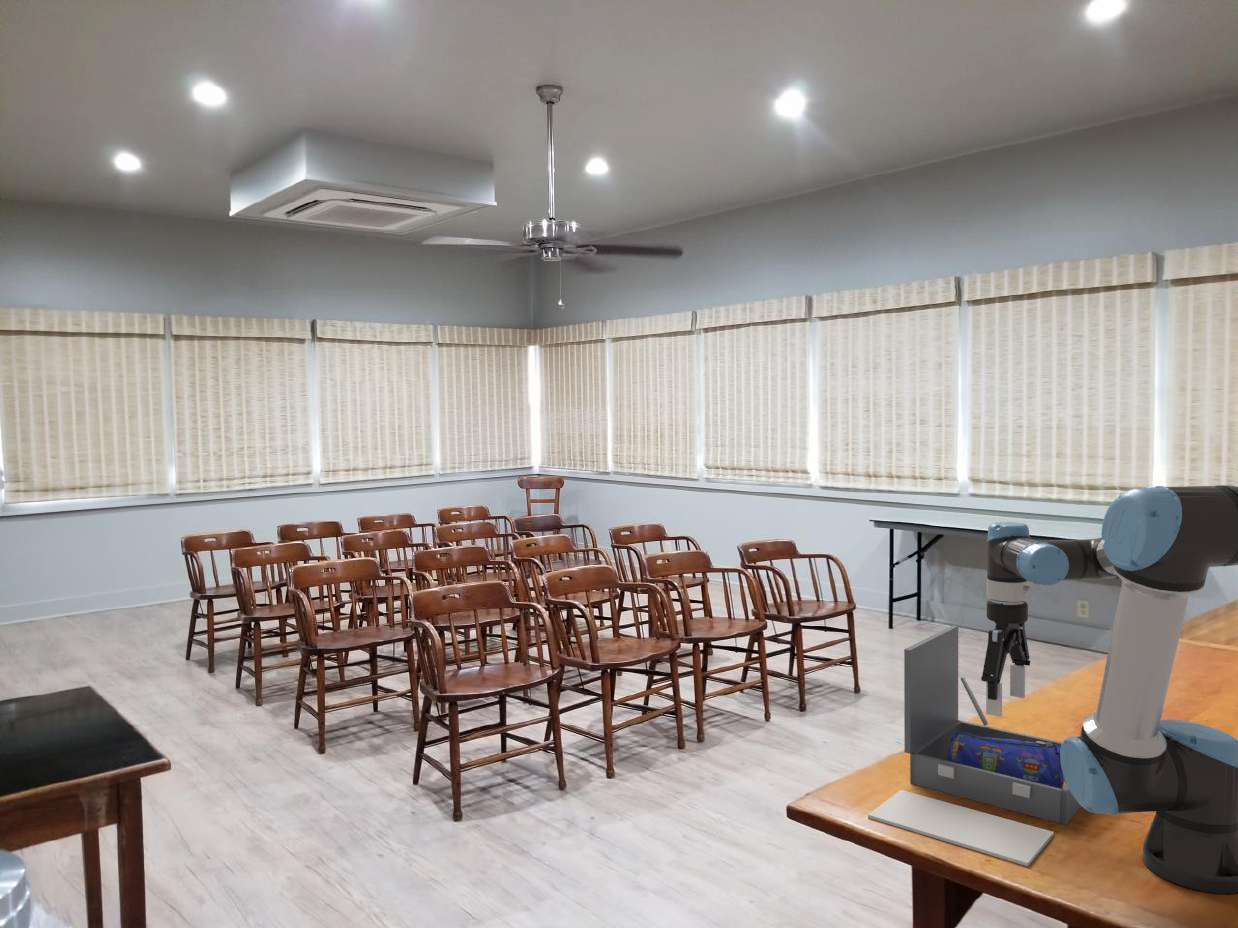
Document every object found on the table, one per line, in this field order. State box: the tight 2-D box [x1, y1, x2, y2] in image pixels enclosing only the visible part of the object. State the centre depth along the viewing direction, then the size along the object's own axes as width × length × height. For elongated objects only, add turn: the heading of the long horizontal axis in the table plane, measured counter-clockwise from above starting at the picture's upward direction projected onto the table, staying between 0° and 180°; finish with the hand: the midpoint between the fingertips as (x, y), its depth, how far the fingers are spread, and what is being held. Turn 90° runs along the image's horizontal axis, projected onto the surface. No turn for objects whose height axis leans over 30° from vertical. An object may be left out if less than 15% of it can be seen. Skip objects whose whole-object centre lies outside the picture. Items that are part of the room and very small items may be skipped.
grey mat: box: [867, 789, 1055, 867], centre depth 161 cm, size 14×28×1 cm, turn 48°
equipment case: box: [903, 625, 1082, 826], centre depth 179 cm, size 26×30×27 cm
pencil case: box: [947, 731, 1065, 789], centre depth 180 cm, size 22×9×10 cm, turn 62°
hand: (1006, 705), depth 179 cm, fingers open, 13 cm apart
